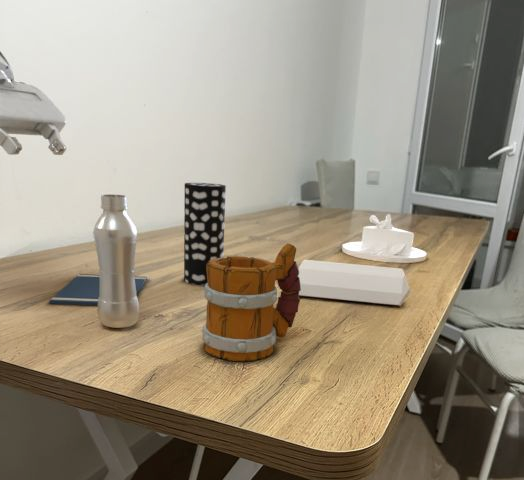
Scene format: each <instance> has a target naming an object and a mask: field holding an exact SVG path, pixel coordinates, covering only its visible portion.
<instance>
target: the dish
mask: <svg viewBox="0 0 524 480" xmlns="http://www.w3.org/2000/svg"><path fill="white" fill-rule="evenodd" d="M392 219H393V218H392V215H391V213H387V214H386V215H385V219H384V220H381V221H380V220H379V219H378V217H377V216H376V215H375V214H371V215H370V216H369V219H368V220H369V222H370V223H372V224H374V225H368V226H363V227H362V235H361V241H352V242H345V243H343V244H342V248H341V252H342V253H344V254H346V255H348V256H351V257H355V258H357V259H363V260H369V261H375V262H383V263H397V264H398V263H399V264H407V263H408V264H409V263H410V264H411V263H419V262H424V261H425V260H426V259H428V258H427V257H428V254H427V252H426V251H425V250H423V249H420V248H417V247H413V242H414V237H415V233H414V232H412V231H408V230H404V229H400V228H397V227H394V225H393V224H392Z"/></svg>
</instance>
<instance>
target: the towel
mask: <svg viewBox="0 0 524 480" xmlns="http://www.w3.org/2000/svg"><path fill="white" fill-rule="evenodd" d="M134 277H135V286H136V296H137V297H138V295H139V293H140V292H141V290H142V288H143V286H144V284H145V283H146V282H147V280H148V278H147V276H137V275H136V276H135V275H134ZM99 287H100V274H93V273H92V274H89V273H87V274H86V273H78V275H77V276H76V277H74V278H73V279H72V280H71V281H70V282H68V284H66V285H65V286H64V287H63V288H62V289H61V290H60V291H59V292H57V293H56V294H54V296H53V297H52V298H51V299H49V301H48V303H49V305H66V306H67V305H69V306H70V305H71V306H72V305H73V306H93V307H95V306H96V307H98V299H99Z"/></svg>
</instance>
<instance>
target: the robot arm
mask: <svg viewBox="0 0 524 480" xmlns="http://www.w3.org/2000/svg"><path fill="white" fill-rule="evenodd" d="M13 72H14V71H13V69H12V67H11V65H10V63H9V62H8V60H7V58H6V57H5V56H4V54H3V53H2V52H1V51H0V147H2V149H3V150H4V151H5V152H6V154H8V156H9V155H11V156H12V155H19V154H20V152H21V151H22V150H23V145H22V144H21V143H20V142H19V140H18V139H17V137H16V136H11V135H22V136H23V135H25V136H39V137H40V136H42V137H43V139H45V140H48V143H49V145H48V149H49V150H50V152H52V154H53V155H56V156H63V155H64V154H65V152H66V151H67V146H66V145H65V143H64V142H63V140H62V139H61V136H60V133H61V132H62V131H63V129H64V128H65V126H66V124H67V119H66V116H65V115H64V114H63V112H62V111H61V110H60V108H58V106H56V104H55V103H54V102H53V101H52V100H51V99H50V98H49V97H48V95H46V94H45V93H44V92H43V91H42V90H41V89H39V88H38V87H37V86H35V85H32V84H27V83H25V82H22V81H19V82H18V81H15V76H14V73H13Z"/></svg>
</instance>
